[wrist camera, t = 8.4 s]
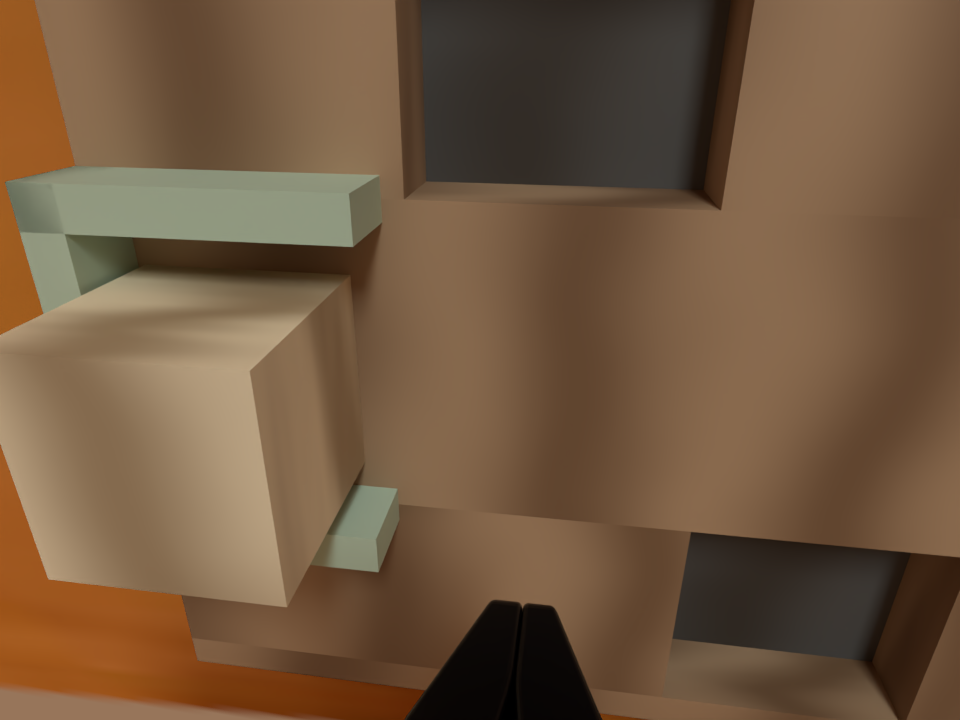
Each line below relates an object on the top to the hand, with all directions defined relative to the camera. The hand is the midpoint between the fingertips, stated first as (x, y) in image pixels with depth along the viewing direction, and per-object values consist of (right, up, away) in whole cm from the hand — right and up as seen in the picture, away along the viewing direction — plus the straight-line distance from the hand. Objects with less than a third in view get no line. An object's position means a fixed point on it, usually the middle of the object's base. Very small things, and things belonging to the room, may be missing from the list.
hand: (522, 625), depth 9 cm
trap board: (+3, +4, +9) cm, 10 cm away
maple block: (-6, +3, +8) cm, 10 cm away
